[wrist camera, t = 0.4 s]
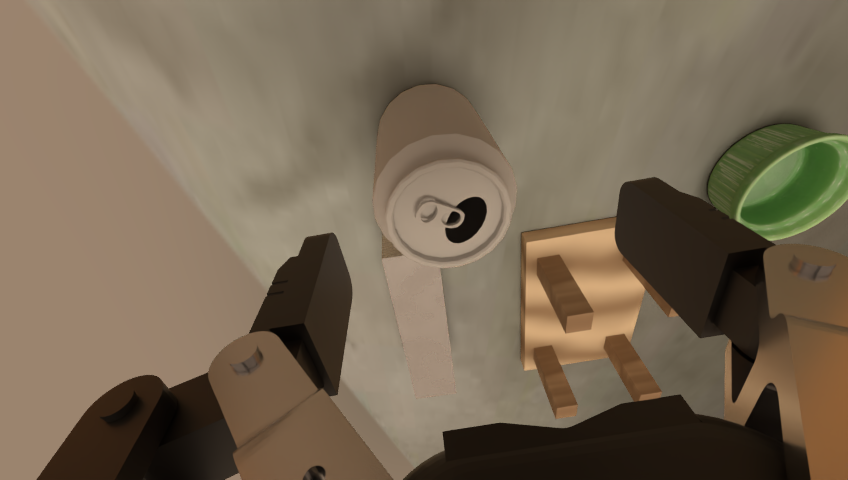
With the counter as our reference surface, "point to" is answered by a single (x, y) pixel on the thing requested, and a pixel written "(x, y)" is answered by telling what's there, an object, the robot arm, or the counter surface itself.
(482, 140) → the can
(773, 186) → the ramekin
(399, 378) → the counter surface
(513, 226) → the counter surface
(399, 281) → the pale beige plank
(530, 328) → the rack
